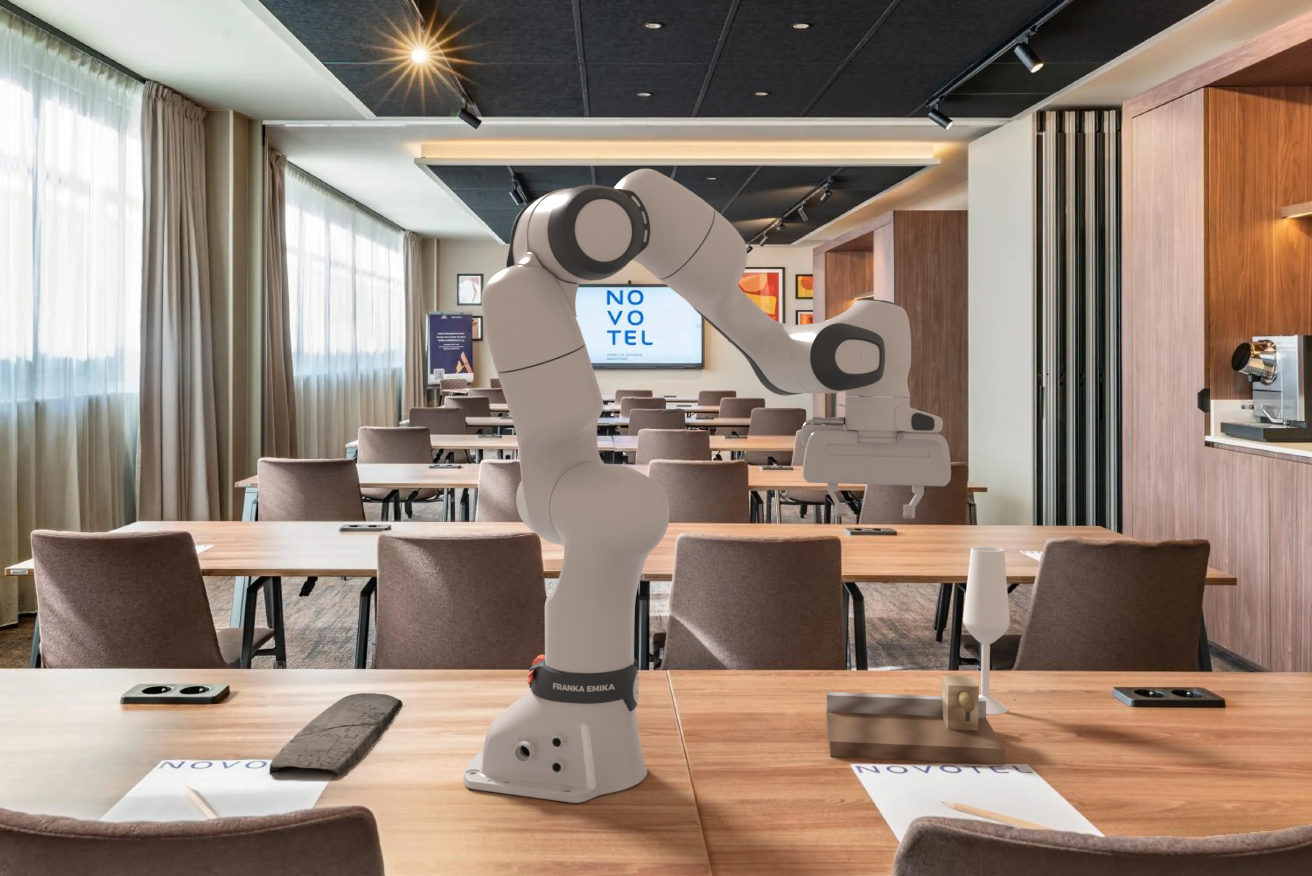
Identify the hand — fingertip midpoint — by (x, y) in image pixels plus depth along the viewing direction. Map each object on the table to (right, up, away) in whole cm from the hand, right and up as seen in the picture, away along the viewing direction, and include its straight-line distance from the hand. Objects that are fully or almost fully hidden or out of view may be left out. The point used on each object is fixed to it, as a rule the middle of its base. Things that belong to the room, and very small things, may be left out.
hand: (874, 516), depth 145 cm
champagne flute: (+19, -30, +11) cm, 37 cm away
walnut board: (+4, -30, -4) cm, 31 cm away
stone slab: (-74, -31, -2) cm, 80 cm away
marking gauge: (+11, -28, -4) cm, 31 cm away
